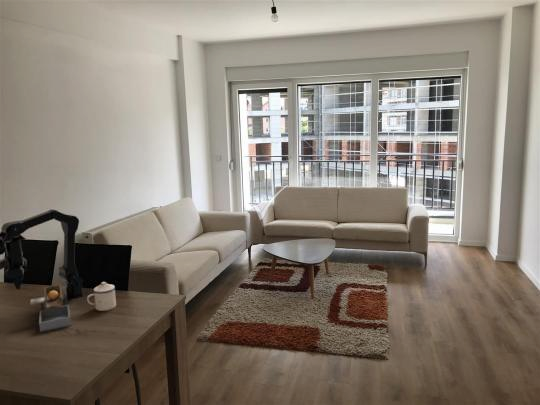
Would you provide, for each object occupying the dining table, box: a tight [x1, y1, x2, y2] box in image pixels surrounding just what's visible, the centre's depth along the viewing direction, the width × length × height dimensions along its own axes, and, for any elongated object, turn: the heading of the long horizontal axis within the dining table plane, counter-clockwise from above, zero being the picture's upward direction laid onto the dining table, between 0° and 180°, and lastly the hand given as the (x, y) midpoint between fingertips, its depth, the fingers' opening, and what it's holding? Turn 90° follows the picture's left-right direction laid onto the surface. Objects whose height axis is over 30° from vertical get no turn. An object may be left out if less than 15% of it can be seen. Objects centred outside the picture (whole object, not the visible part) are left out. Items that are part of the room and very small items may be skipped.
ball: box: [48, 290, 58, 300], centre depth 185 cm, size 4×4×4 cm
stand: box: [40, 293, 68, 310], centre depth 187 cm, size 11×5×7 cm, turn 117°
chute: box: [30, 284, 65, 310], centre depth 185 cm, size 12×18×6 cm
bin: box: [38, 304, 72, 333], centre depth 177 cm, size 11×14×4 cm
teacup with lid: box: [86, 281, 117, 312], centre depth 189 cm, size 12×9×12 cm
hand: (19, 285), depth 186 cm, fingers open, 9 cm apart
